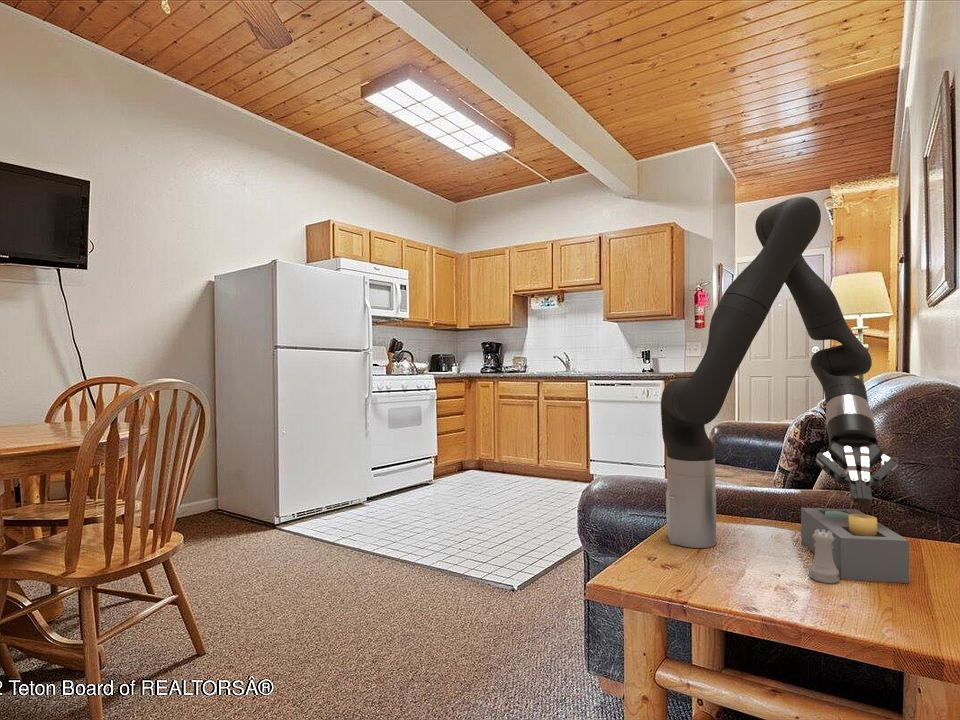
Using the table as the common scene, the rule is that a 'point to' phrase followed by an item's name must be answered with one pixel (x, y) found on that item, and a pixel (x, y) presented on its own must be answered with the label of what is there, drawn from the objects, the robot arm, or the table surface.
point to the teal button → (836, 514)
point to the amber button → (862, 525)
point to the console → (859, 548)
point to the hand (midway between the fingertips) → (862, 503)
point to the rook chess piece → (823, 559)
